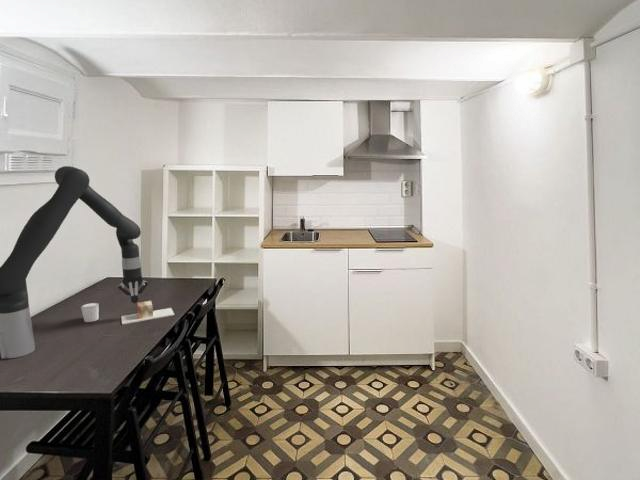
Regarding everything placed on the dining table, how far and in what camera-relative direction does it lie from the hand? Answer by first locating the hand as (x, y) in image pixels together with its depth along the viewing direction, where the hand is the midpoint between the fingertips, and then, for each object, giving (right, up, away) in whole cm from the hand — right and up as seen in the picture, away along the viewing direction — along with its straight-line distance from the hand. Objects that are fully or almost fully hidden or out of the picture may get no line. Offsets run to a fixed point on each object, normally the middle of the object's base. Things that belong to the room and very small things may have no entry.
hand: (134, 302), depth 163 cm
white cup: (-20, -8, 0) cm, 22 cm away
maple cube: (+1, -4, +1) cm, 4 cm away
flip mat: (+4, -7, +4) cm, 9 cm away
